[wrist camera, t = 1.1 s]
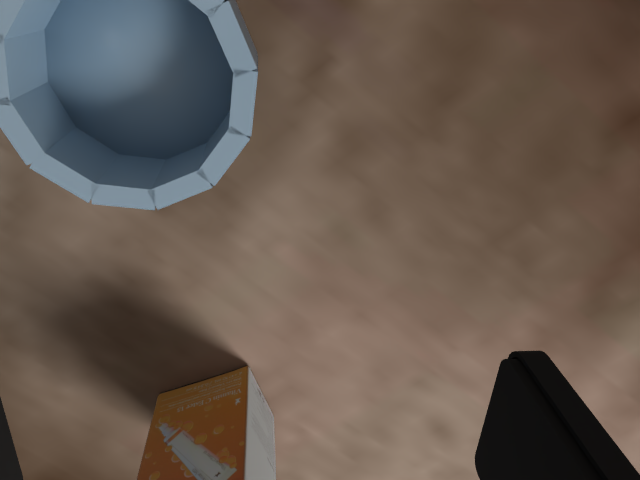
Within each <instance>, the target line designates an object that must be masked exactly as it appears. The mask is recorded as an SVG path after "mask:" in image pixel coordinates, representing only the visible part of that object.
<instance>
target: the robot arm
mask: <svg viewBox="0 0 640 480" xmlns="http://www.w3.org/2000/svg"><path fill="white" fill-rule="evenodd" d="M475 466H476V470H477V473H478V476H479V478H480V480H640V475H639V473H638V472H637V471H636V469H635V468H634V467H633V466H632V464H631V463H630V462H629V460H628V459H627V458H626V456H625V455H624V454H623V453H622V451H621V450H620V449H619V447H618V446H617V445H616V443H615V442H614V441H613V440H612V438H611V437H610V436H609V434H608V433H607V432H606V431H605V429H604V428H603V427H602V425H601V424H600V423H599V421H598V420H597V419H596V418H595V416H594V415H593V414H592V412H591V411H590V410H589V408H588V407H587V406H586V405H585V403H584V402H583V401H582V399H581V398H580V397H579V395H578V394H577V393H576V392H575V390H574V389H573V388H572V386H571V385H570V384H569V382H568V381H567V380H566V379H565V377H564V376H563V375H562V373H561V372H560V371H559V369H558V368H557V367H556V366H555V364H554V363H553V362H552V360H551V359H550V358H549V357H548V355H547V354H546V353H545V352H542V351H515V352H512V353H511V354H510V355H509V357H508V359H504V360H502V361H501V364H500V367H499V370H498V374H497V378H496V381H495V385H494V388H493V392H492V396H491V399H490V403H489V407H488V410H487V414H486V417H485V421H484V425H483V428H482V432H481V436H480V439H479V443H478V446H477V450H476V454H475ZM0 480H23V475H22V472H21V468H20V465H19V461H18V458H17V454H16V451H15V447H14V444H13V440H12V437H11V433H10V430H9V426H8V423H7V419H6V415H5V412H4V408H3V405H2V401H1V398H0Z"/></svg>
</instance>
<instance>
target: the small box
mask: <svg viewBox="0 0 640 480" xmlns="http://www.w3.org/2000/svg"><path fill="white" fill-rule="evenodd" d="M137 480H276V460H275V436H274V416H273V414H272V412H271V410H270V408H269V406H268V404H267V402H266V400H265V398H264V396H263V394H262V392H261V390H260V388H259V386H258V384H257V382H256V380H255V378H254V376H253V374H252V372H251V370H250V368H249V366H245V367H243V368H240V369H237V370H235V371H232V372H229V373H226V374H223V375H220V376H216V377H213V378H210V379H207V380H204V381H201V382H198V383H195V384H191V385H188V386H185V387H181V388H178V389H175V390H172V391H168V392H164V393H161V394H159V395H158V397H157V401H156V405H155V409H154V413H153V417H152V421H151V425H150V429H149V433H148V437H147V441H146V445H145V449H144V453H143V457H142V461H141V465H140V469H139V473H138V477H137Z"/></svg>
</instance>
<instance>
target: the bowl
mask: <svg viewBox="0 0 640 480" xmlns="http://www.w3.org/2000/svg"><path fill="white" fill-rule="evenodd" d="M257 75H258V56H257V51H256V48H255V46H254V44H253V41H252V39H251V36H250V34H249V32H248V29H247V27H246V24H245V22H244V20H243V17H242V15H241V12H240V10H239V8H238V5H237V3H236V0H0V128H1V129H2V131H3V132H4V134H5V135H6V136H7V138H8V139H9V141H10V142H11V144H12V145H13V147H14V148H15V149H16V151H17V152H18V154H19V155H20V157H21V158H22V159H23V161H24V162H25V164H26V165H29V164H31V163H32V164H31V166H30V169H32V170H34V171H35V172H37V173H39V174H41V175H42V176H44V177H46V178H47V179H49V180H51V181H52V182H54V183H56V184H57V185H59V186H61V187H63V188H64V189H66V190H68V191H69V192H71V193H73V194H74V195H76V196H78V197H79V198H81V199H83V200H85V201H86V202H88V203H89V202H90V200H91V199H92V204H97V205H107V206H117V207H127V208H137V209H147V210H155V208H157V209H158V210H159V209H161V208H164V207H166V206H169V205H171V204H173V203H176V202H178V201H181V200H183V199H186V198H188V197H191V196H193V195H196V194H198V193H201V192H203V191H206V190H208V189H211V188H212V187H213V185H214V186H215V185H216V184H217V182H218V181H219V180H220V178H221V177H222V176H223V174H224V173H225V172H226V170H227V169H228V168H229V166H230V165H231V164H232V162H233V161H234V160H235V158H236V157H237V156H238V154H239V153H240V152H241V150H242V149H243V148H244V147H245V145H246V144H247V143H248V141H249V140H250V136H251V133H252V124H253V114H254V104H255V95H256V85H257Z"/></svg>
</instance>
